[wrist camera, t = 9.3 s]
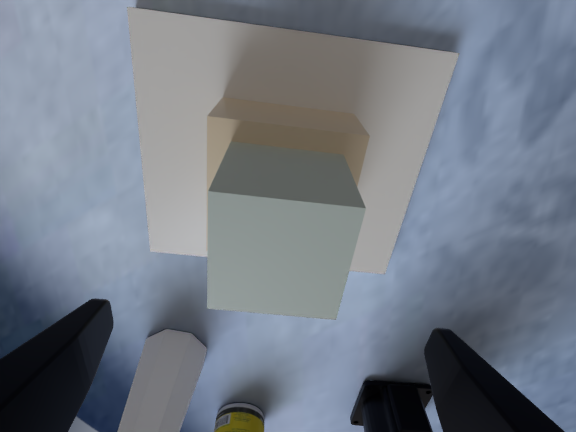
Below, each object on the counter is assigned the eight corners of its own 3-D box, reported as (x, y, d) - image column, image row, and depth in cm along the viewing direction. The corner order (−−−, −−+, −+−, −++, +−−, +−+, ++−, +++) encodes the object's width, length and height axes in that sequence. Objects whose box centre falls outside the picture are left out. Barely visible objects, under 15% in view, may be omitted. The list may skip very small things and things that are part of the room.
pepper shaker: (155, 372, 31) (96, 532, 21) (134, 331, 28) (55, 492, 18) (214, 367, 30) (181, 527, 21) (199, 324, 28) (152, 486, 18)
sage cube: (324, 246, 18) (336, 319, 13) (227, 236, 17) (207, 308, 13) (343, 154, 15) (365, 208, 11) (230, 141, 15) (207, 191, 11)
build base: (381, 265, 25) (401, 317, 20) (155, 243, 24) (125, 293, 19) (450, 51, 18) (503, 62, 13) (135, 7, 17) (82, 3, 12)
